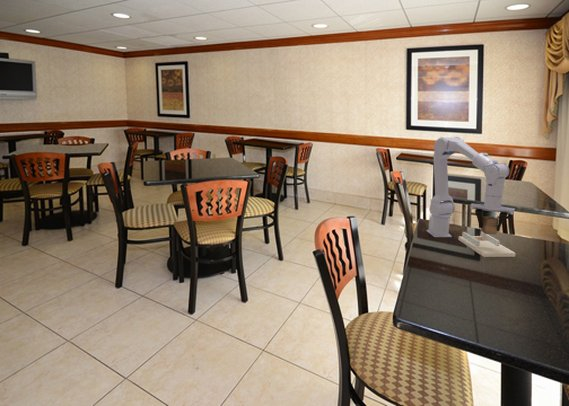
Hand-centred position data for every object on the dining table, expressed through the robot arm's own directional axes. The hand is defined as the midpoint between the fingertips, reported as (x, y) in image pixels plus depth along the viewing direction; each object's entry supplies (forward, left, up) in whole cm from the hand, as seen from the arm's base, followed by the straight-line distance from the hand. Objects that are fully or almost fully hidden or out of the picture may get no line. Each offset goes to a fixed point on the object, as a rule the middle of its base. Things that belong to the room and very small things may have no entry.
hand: (489, 229), depth 138 cm
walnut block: (0, 0, -1) cm, 1 cm away
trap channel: (-5, +2, -9) cm, 11 cm away
